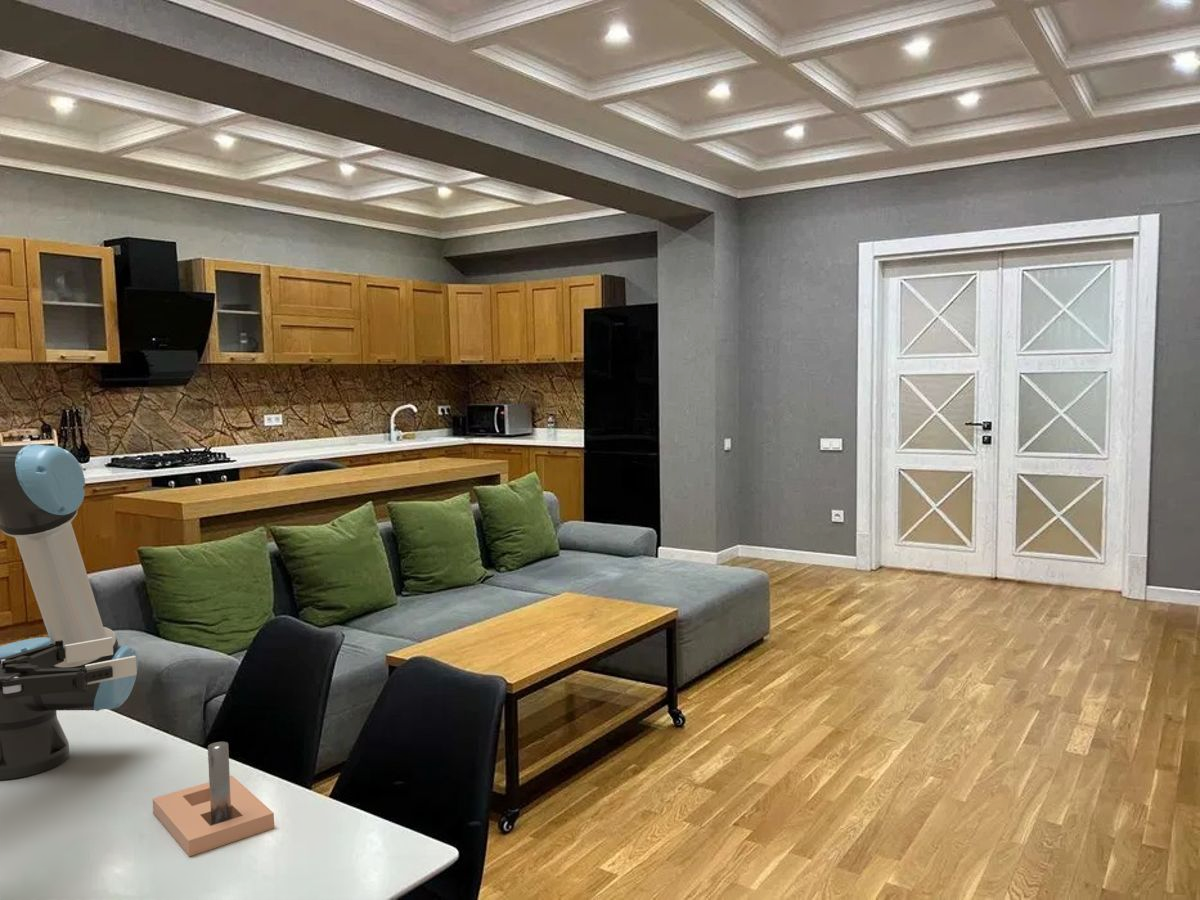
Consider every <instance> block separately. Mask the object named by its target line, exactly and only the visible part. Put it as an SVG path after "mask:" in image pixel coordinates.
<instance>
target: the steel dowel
mask: <svg viewBox="0 0 1200 900" xmlns="http://www.w3.org/2000/svg"><path fill="white" fill-rule="evenodd" d="M229 752H230V751H229V742H227V741H217V742H212V743H210V744H208V745H207V762H208V782H209V785H210V807H211V826H212V825H215V824H218V823H221V822H224V821H228V820H231V819H232V818H231V796H230V776H231V775H230V774H231V773H230V756H229V755H230V753H229Z"/></svg>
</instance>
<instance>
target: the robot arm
mask: <svg viewBox="0 0 1200 900" xmlns="http://www.w3.org/2000/svg"><path fill="white" fill-rule="evenodd" d="M85 479H86V478H85V475H84V471H83V469H82V466H81V464H80V463H79V461H78V460H77V459H76V457H75V456H74V455H73V453H71V452H70V451H69V450H67V449H64V448H62V447H61V446H56V445H44V444H39V443H32V444H28V445H27V444H26V445H0V530H1V533H3V535H6V536H9V537H13V538H14V539H15V541H16V544H17V548H18V550H19V553H20V556H21V560H22V562H23V565H24V568H25V570H26V574H27V576H28V579H29V581H30V585H31V588H32V591H33V594H34V597H35V601H36V603H37V605H38V609H39V611H40V614H41V618H42V620H43V623H44V627H45V628H46V632H47V634H48V635H47V636H48V637H47V636H45V637H44V636H43V637H34V638H28V639H23V640H18V641H15V642H10V643H8V644H7V643H5V644H3V645H1V646H0V780H1V781H3V780H12V779H14V780H15V779H19V778H24V777H29V776H33V775H37V774H40V773H43V772H46V771H48V770H51V769H53V768H55V767H57V766H59V765H61V764H62V763H64V762H65V761H66V760H68V759H69V757H70V744H69V740H68V738H67V736H66V734H65V732H64V730H63V727H62V726H61V722H60V720H58V715H57V711H95V712H99V711H101V710H113V709H117V708H119V707H120V706H122V705H123V704H124V703H125V702H126V700H128V698H129V696H130V694H131V693H132V690H133V689H134V688H133V687H135V686H134V685H135V682H136V678H137V675H138V654H137V652H136V650H135V649H134V648H133V647H132V646H129V645H126V644H125V645H119V642H118V639H117V636H116V635H117V634H116V633H115V632H114V631H113V630H112V629H111V628H109V627H106V626H104V625H103V622H102V619H101V615H100V612H99V607H98V606H97V602H96V599H95V596H94V591H93V589H92V585H91V582H90V579H89V577H88V573H87V570H86V566H85V563H84V559H83V557H82V554H81V550H80V546H79V544H78V541H77V538H76V537H77V536H76V534H75V531H74V528H73V525H72V521H74V519H75V518H76V516H77V515H78V511H79V510H78V509H79V508H80V506H81V505H82V503H83V502H84V498H85V494H86V490H85V489H84V487H85V486H86V480H85Z"/></svg>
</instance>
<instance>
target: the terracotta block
mask: <svg viewBox="0 0 1200 900" xmlns="http://www.w3.org/2000/svg"><path fill="white" fill-rule="evenodd" d="M230 796H231V818H232V819H231V820H228V821H224V822H221V823H218V824H215V825H212V826H211V807H210V785H209V781H207V782H204V783H200V784H197V785H194V786H193V785H192V786H191V787H187V788H184V789H180V790H176V791H173V792H170V793H166V794H163V795H159V796H156V797H153V798H152V813H153V814H154V816H155V817H156V818H157V820H159V822H160V823H161V824H162V826H163V827H164V828H165V829H166V830H167V831H168V833H169V834H170V835H171V836H172V838H173V839H174V840H175V841H176V842H177V843H178V845H179V846H180V848H182V850H183V851H184V852H185V853H186V854H187V857H189V858H191V857H193V856H196V855H198V854H202V853H205V852H208V851H210V850H214V849H217V848H219V847H222V846H226V845H228V844H231V843H234V842H237V841H239V840H243V839H246V838H249V837H252V836H255V835H258V834H260V833H263V832H267V831H269V830H272V829H275V812H274V811H272V810H271V809H270V808H269V807H268V806H267V805H265V803H264V802H262V801H261V800H260V799H259V798H258V797H257V796H256V795H254V793H252V792H251V791H250V789H248V788H247V787H245V786H244V785H243V783H241V781H239V780H238V779H237V778H236V777H235V776H233V775H232V774H231V775H230Z"/></svg>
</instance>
